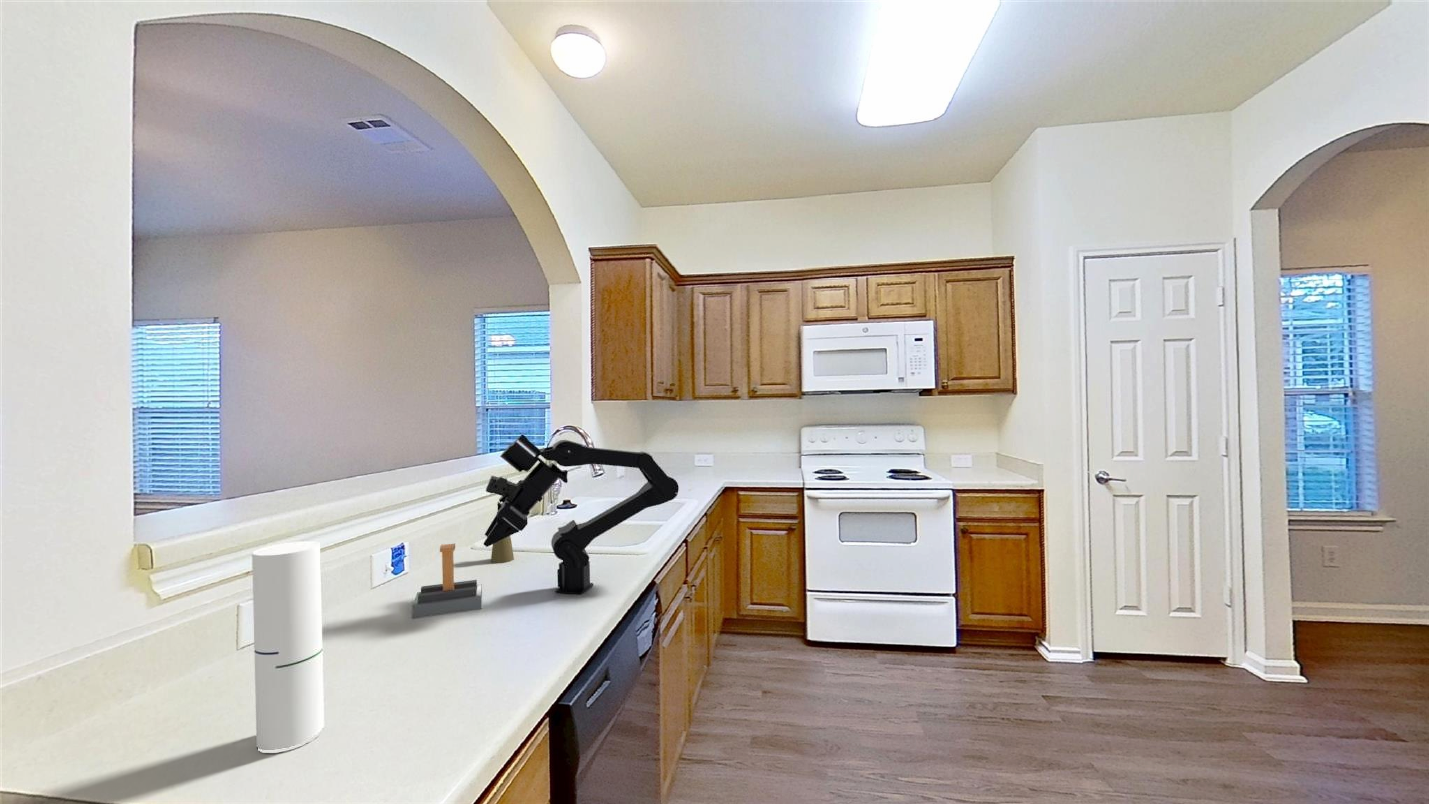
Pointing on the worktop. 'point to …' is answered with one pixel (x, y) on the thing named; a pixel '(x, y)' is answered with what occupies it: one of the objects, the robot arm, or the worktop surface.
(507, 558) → the cork
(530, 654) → the worktop surface
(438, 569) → the worktop surface
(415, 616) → the grey slotted base
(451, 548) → the handle
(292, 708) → the cylindrical container
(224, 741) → the worktop surface
